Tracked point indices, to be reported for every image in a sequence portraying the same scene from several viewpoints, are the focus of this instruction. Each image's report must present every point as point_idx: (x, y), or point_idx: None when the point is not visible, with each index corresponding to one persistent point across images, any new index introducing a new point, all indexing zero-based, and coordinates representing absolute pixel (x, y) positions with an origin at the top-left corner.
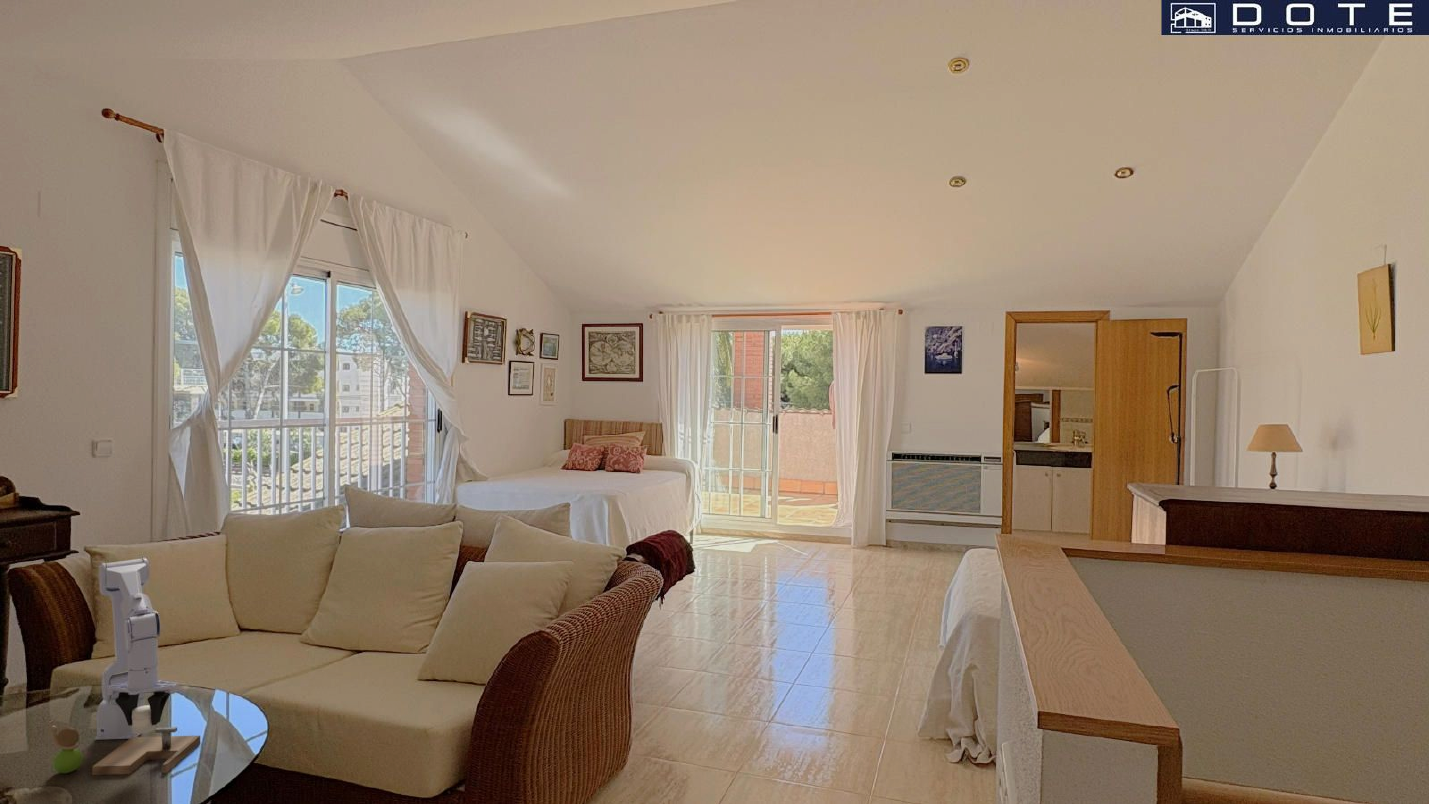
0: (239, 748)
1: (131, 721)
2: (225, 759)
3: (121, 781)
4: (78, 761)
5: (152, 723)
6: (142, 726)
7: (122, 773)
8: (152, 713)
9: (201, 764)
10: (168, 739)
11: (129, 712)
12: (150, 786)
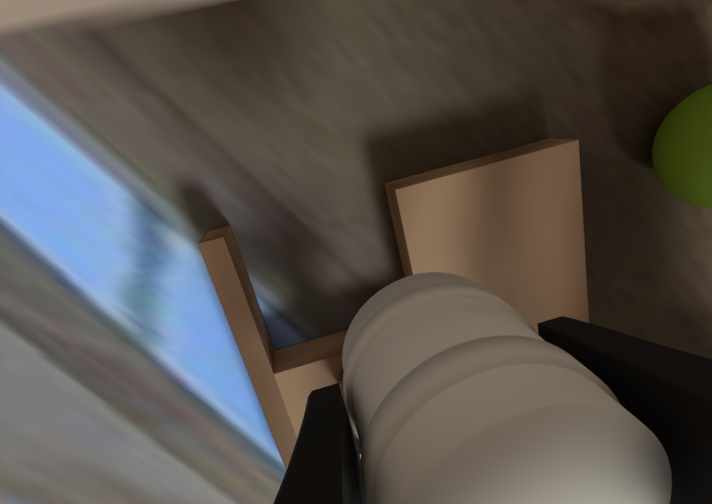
0: (74, 491)
1: (564, 349)
2: (35, 403)
3: (365, 110)
4: (674, 147)
5: (330, 393)
6: (395, 324)
7: (419, 174)
8: (317, 490)
9: (110, 337)
10: (346, 407)
11: (676, 410)
12: (162, 91)
